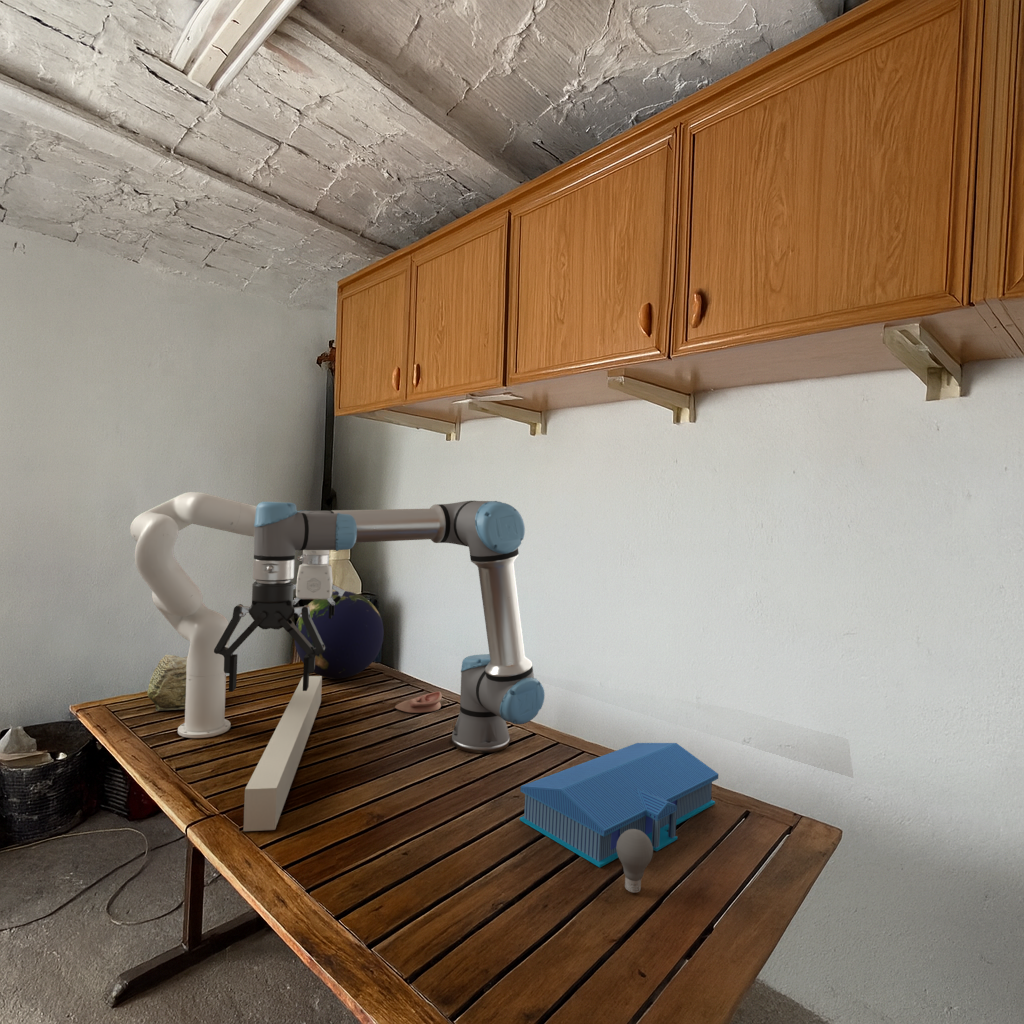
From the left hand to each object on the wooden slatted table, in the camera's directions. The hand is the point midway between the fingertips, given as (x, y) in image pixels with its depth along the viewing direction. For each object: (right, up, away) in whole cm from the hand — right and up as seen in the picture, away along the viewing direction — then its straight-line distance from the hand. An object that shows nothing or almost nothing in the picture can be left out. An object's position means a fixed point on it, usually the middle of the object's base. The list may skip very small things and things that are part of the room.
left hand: (313, 617), depth 188 cm
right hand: (+12, -3, -64) cm, 66 cm away
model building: (+83, -32, -56) cm, 105 cm away
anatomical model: (+31, -28, +5) cm, 42 cm away
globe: (-2, -26, +32) cm, 42 cm away
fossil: (-37, -25, -3) cm, 45 cm away
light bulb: (+79, -32, -83) cm, 119 cm away
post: (+5, -28, -32) cm, 42 cm away
